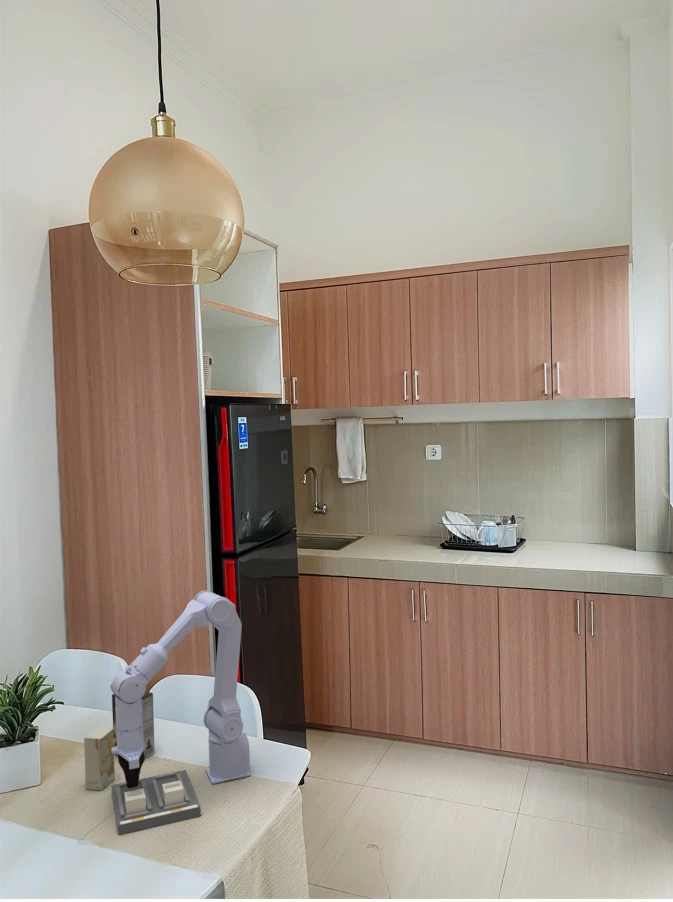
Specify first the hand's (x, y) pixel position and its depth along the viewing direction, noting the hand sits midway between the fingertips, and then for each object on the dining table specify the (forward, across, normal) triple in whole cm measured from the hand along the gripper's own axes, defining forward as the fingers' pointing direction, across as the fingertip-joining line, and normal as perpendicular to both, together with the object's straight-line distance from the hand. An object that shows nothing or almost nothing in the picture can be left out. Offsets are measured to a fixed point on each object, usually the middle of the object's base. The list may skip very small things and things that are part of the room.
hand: (132, 786), depth 157 cm
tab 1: (+2, +6, 0) cm, 7 cm away
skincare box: (+4, -13, -6) cm, 15 cm away
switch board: (+4, +2, +4) cm, 6 cm away
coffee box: (+4, -25, +3) cm, 26 cm away
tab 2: (+2, +6, +8) cm, 10 cm away
